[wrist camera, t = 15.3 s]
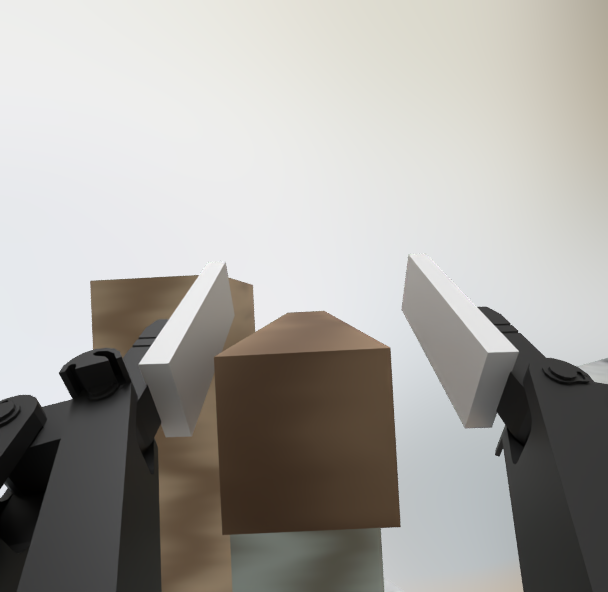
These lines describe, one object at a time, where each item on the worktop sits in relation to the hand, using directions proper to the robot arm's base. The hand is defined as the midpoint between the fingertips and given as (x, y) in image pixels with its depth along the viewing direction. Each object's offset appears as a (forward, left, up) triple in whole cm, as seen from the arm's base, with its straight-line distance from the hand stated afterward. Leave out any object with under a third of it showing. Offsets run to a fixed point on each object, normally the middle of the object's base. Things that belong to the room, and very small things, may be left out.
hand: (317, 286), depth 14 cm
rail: (-1, +4, -5) cm, 7 cm away
